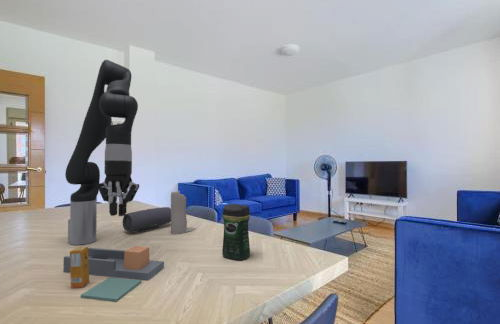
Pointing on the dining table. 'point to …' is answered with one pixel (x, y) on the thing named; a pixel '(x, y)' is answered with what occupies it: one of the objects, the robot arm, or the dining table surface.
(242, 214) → the coffee jar
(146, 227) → the bluetooth speaker
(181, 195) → the candle
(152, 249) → the dining table surface
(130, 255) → the block
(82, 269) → the supplement box
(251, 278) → the dining table surface
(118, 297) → the pad
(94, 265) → the channel
